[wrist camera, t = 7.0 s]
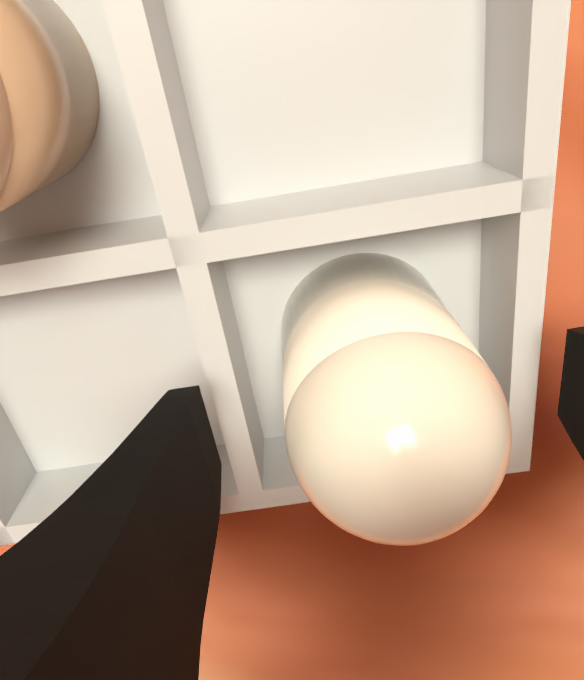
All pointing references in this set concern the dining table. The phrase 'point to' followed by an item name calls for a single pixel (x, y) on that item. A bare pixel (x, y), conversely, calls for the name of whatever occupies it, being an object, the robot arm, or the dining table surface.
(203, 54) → the egg carton
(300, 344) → the cream egg
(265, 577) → the dining table surface
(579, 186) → the dining table surface
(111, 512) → the robot arm
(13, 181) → the brown egg
